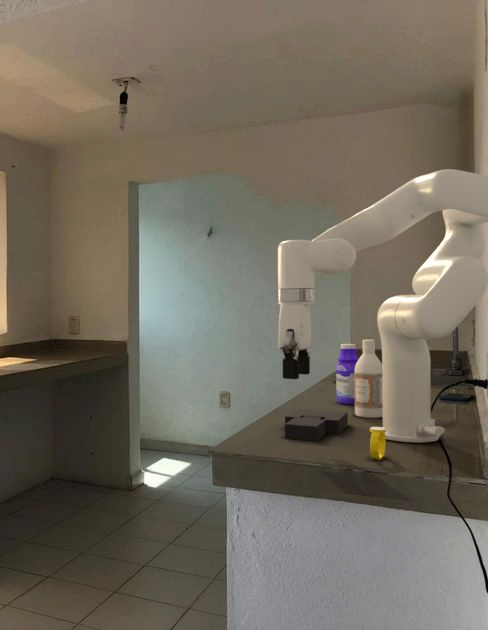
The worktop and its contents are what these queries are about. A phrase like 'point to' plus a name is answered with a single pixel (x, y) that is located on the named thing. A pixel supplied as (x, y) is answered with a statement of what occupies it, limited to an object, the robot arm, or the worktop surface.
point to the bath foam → (368, 383)
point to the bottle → (346, 374)
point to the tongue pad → (305, 428)
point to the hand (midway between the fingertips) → (296, 376)
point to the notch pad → (323, 418)
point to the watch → (377, 442)
